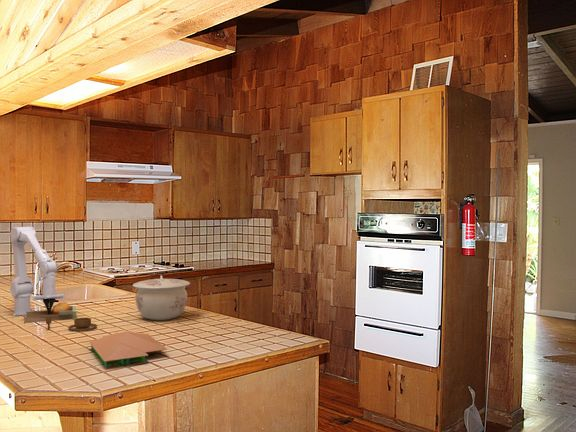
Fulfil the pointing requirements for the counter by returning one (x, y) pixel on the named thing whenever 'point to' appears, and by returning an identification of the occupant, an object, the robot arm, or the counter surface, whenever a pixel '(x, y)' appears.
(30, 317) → the chute
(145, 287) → the chamber pot
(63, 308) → the fruit
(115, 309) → the counter surface
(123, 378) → the counter surface
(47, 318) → the place setting
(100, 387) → the counter surface
